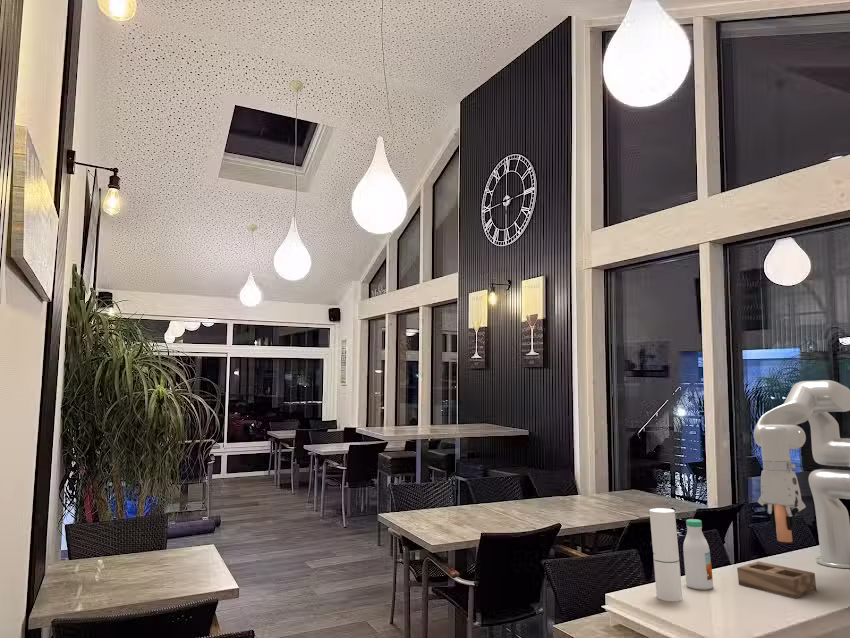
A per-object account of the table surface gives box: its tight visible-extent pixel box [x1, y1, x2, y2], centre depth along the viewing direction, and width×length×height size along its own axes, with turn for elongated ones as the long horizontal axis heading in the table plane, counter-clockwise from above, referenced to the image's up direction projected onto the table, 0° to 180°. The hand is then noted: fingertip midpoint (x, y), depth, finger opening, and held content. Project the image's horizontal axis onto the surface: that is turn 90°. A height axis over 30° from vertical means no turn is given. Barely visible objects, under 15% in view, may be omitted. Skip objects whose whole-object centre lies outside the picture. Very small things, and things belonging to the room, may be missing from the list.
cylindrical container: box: [649, 507, 683, 602], centre depth 180 cm, size 7×7×25 cm
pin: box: [773, 503, 793, 543], centre depth 183 cm, size 4×4×12 cm
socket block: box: [736, 560, 817, 599], centre depth 184 cm, size 12×17×5 cm
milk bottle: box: [682, 518, 714, 591], centre depth 189 cm, size 8×8×20 cm
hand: (783, 527), depth 183 cm, fingers closed on pin, 4 cm apart
